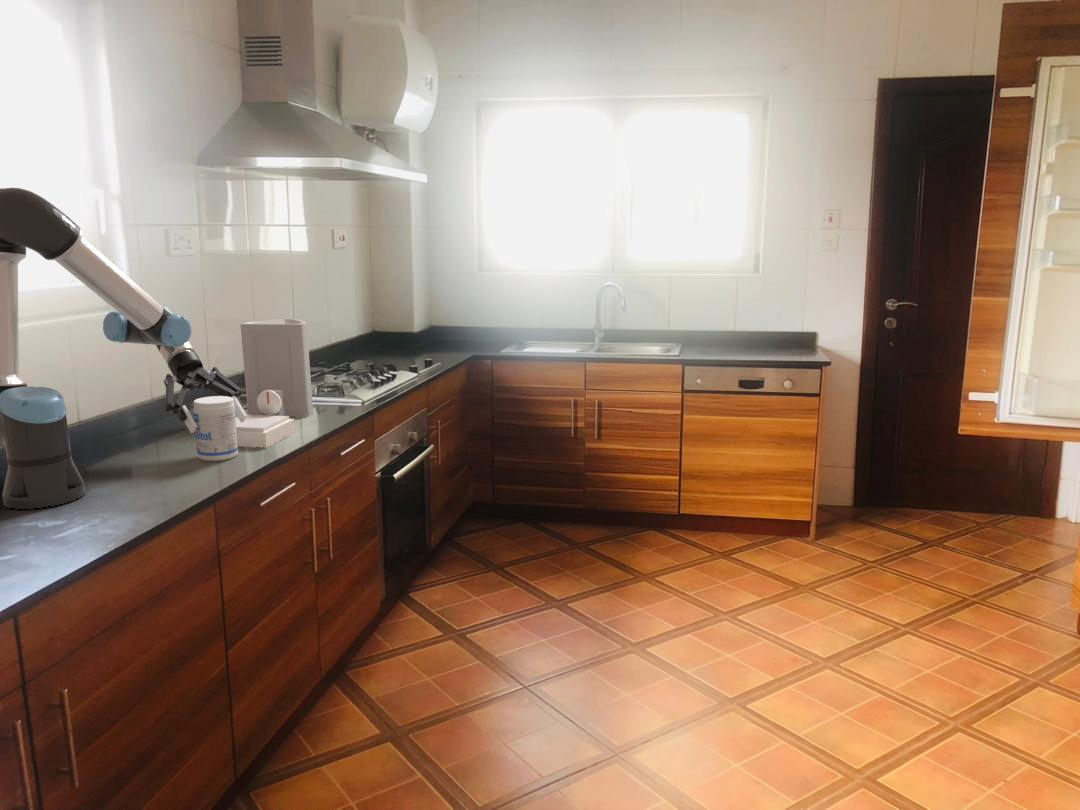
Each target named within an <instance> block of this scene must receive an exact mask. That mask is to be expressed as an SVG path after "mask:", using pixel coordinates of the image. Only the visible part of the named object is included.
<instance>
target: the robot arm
mask: <svg viewBox="0 0 1080 810" xmlns="http://www.w3.org/2000/svg"><path fill="white" fill-rule="evenodd" d="M27 249H29V250H32V251H34V252H36V253H38V255H40V256H41V257H42V258H44V259H45V260H47V261H55V262H56V263H58V264H59V265H60V266H61V267H63V268H64V269H65V270H66V271H67V272H69V273H70V274H71V275H72V276H74V277H75V278H76V279H78V280H79V281H80V282H81V283H82V284H83V285H85V286H86V287H87V288H89V289H90V290H91V291H92V292H93V293H94V294H96V295H97V296H98V297H100V299H102V300H103V301H104V302H105V303H107V304H108V305H110V306H111V307H112V308H113V309H114V310H113V311H111V312H109V313H107V314H106V315H105V316H104V319H103V321H102V331H103V335H104V336H105V338H106V339H107V340H109V341H110V342H116V343H120V344H123V343H128V344H129V343H130V344H140V345H152V346H153V345H154V346H156V348H157V350H158V351H159V353H160V355H161V357H163V360H164V361H165V363H166V365H167V367H168V370H169V371H170V372H171V374H170V373H167V374H166V375H165V378H164V379H163V383H164V387H165V402H164V405H165V407H164V410H165V411H166V412H170V411H172V414H173V415H177V417H178V419H179V421H180V422H184V423H185V425H186V427H187V429H188V430H189V432H190V434H193V433H195V430H196V428H197V425H196V423H195V421H194V417H192V415H191V412H190V410H189V409H188V408H187V406H186V404H184V405H182V404H183V401H184V399H185V396H186V394H187V391H188V390H190V391H195V390H197V389H198V390H201V389H206V390H210V391H211V392H214V393H216V394H218V395H219V396H228V397H232V398H233V399H234V404H235V405H234V406H235V416H236V417H238V418H239V420H240V422H244V420H245V419H246V417H247V415H248V414H247V413H246V411H245V409H244V404H243V401H242V400H241V396H242V394H243V392H244V390H243V389H242V388H241V387H240V386H238V385H237V384H236V383H234V382H233V381H232V380H231V379H229V378H228V377H226V376H225V374H223V373H221V372H220V370H219V368H218V367H216V366H213V367H212V368H211V369H209V370H206V368H205V367H204V365H203V362H202V360H201V359H200V357H199V355H198V354H197V352H196V351H195V350H196V349H195V348H194V347H193V345H192V343H191V341H190V338H191V336H192V330H193V329H192V325H191V323H190V321H189V320H188V319H187V318H186V317H185V316H183V315H180V314H176V313H174V314H173V311H171V309H170V308H169V307H167V306H164V305H161V304H160V303H159V302H158V301H157V300H155V298H153V297H152V296H151V294H148V292H146V290H144V289H143V288H142V287H141V286H140V285H139V284H138V283H136V282H135V280H133V279H132V278H131V277H130V276H129V275H128V274H126V273H125V272H124V271H123V270H121V269H120V268H119V267H118V266H117V265H116V264H114V262H112V261H111V259H109V258H108V257H107V256H105V254H104V253H102V252H101V251H100V250H99V249H98V248H96V246H95V245H93V244H92V243H91V242H90V241H89V240H88V239H86V238H85V237H84V236H83V235H82V229H81V227H80V226H79V225H78V224H76V222H74V221H73V220H72V219H71V218H70V217H69V216H68V215H66V214H65V213H64V212H63V211H62V210H60V209H59V208H58V207H56V206H55V205H54V204H53V203H51V202H50V201H48V200H47V199H45V198H44V197H42V196H40V195H38V194H37V193H35V192H32V191H30V190H27V189H24V188H20V187H19V188H18V187H6V188H0V446H1V447H4V450H5V456H6V460H7V472H6V476H5V480H4V484H3V485H4V486H3V490H2V502H3V506H4V505H5V506H7V507H9V508H8V509H10V508H15V509H14V510H18V509H28V510H34V509H33V508H40V509H43V508H42V507H47V508H49V507H48V506H53V507H56V506H55V505H58V506H60V505H59V504H62V505H65V504H68V503H67V502H69V503H71V502H70V501H72V502H74V501H76V499H77V498H79V499H81V498H82V497H84V496H83V495H84V494H85V495H86V493H87V492H86V485H85V481H84V479H83V477H82V476H81V474H80V471H79V470H78V468H77V466H76V464H75V462H74V460H73V457H72V449H71V443H70V435H69V427H68V426H69V425H68V419H67V407H66V404H65V401H64V397H63V395H62V394H61V392H59V391H58V390H56V389H54V388H50V387H45V386H33V385H32V386H30V385H29V386H28V382H27V381H26V379H24V377H22V376H21V375H20V370H19V369H20V368H19V367H20V366H19V365H20V363H19V359H20V358H19V355H20V354H19V353H20V352H19V350H20V349H19V264H20V262H21V261H22V260H24V259H25V258H26V257H27ZM175 382H176V383H177V384H179V385H180V386H181V388H180V391H179V394H178V397H177V399H176V400H175V401H176V402H174V394H175V393H174V392H175V391H174V390H175ZM207 382H208V383H207ZM81 496H82V497H81ZM80 497H81V498H80ZM73 500H74V501H73ZM77 500H78V499H77ZM64 503H65V504H64ZM5 506H4V507H5ZM7 507H6V508H7Z"/></svg>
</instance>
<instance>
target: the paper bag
mask: <svg viewBox="0 0 1080 810" xmlns="http://www.w3.org/2000/svg"><path fill="white" fill-rule="evenodd" d="M239 325H240V335H241V336H240V337H241V345H242V346H241V347H242V357H243V369H244V383H245V394H246V403H247V407H246V408H247V415H263V413H262V412H261V411H260V410H259V408H258V405H257V398H258V396H259V394H260V393H261V391H264V390H283V402H284V415H285V416H291V417H290V418H308V417H310V416H312V415H314V410H313V409H314V408H313V394H312V393H313V392H312V379H311V366H310V363H311V362H310V350H309V337H308V335H309V334H308V322H306V321H303V320H301V319H297V318H279V319H270V320H269V319H268V320H258V321H257V320H256V321H255V320H254V321H246V322H243V323H240V324H239ZM292 416H294V417H292Z"/></svg>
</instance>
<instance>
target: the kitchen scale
mask: <svg viewBox="0 0 1080 810" xmlns="http://www.w3.org/2000/svg"><path fill="white" fill-rule="evenodd" d="M257 405H258V408H259V410H260V411H261V412H262V413H263V415H248V414H246V415H247V417H246V419H245V420H244V422H240V420H239V418H238V417H237V416H235V417H236V431H237V446H245V447H244V448H247V447H246V446H249V447H248V448H256V447H262V449H267V448H269V447H271V446H273V445H275V444H277V443H279V442H281V441H283V440H285V439H286V437H287V438H288V436H289V437H290V436H292V435H294V434H296V425H295V418H290V417H289V416H285V415H284V402H283V390H264V391H261V393H260V394H259V396H258V398H257ZM284 438H285V439H284ZM282 439H283V440H282ZM280 440H281V441H280ZM278 441H279V442H278ZM276 442H277V443H276ZM274 443H275V444H274ZM263 447H264V448H263Z"/></svg>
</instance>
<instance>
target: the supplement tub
mask: <svg viewBox="0 0 1080 810" xmlns="http://www.w3.org/2000/svg"><path fill="white" fill-rule="evenodd" d="M234 405H235V404H234V399H233V398H232V397H228V396H222V395H213V396H212V395H211V396H204V397H199V398H195V400H193V408H192V409H193V420H194V421H195V423H196V425H197V428H196V430H195V431H194V433H195V443H196V444H195V445H196V456H197V458H198V459H199V460H201V461H205V462H218V461H226V460H231V459H232V458H235V457H236V456H238V453H239V447H238V446H237V431H236V417H237V416H236V413H235V406H234Z"/></svg>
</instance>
